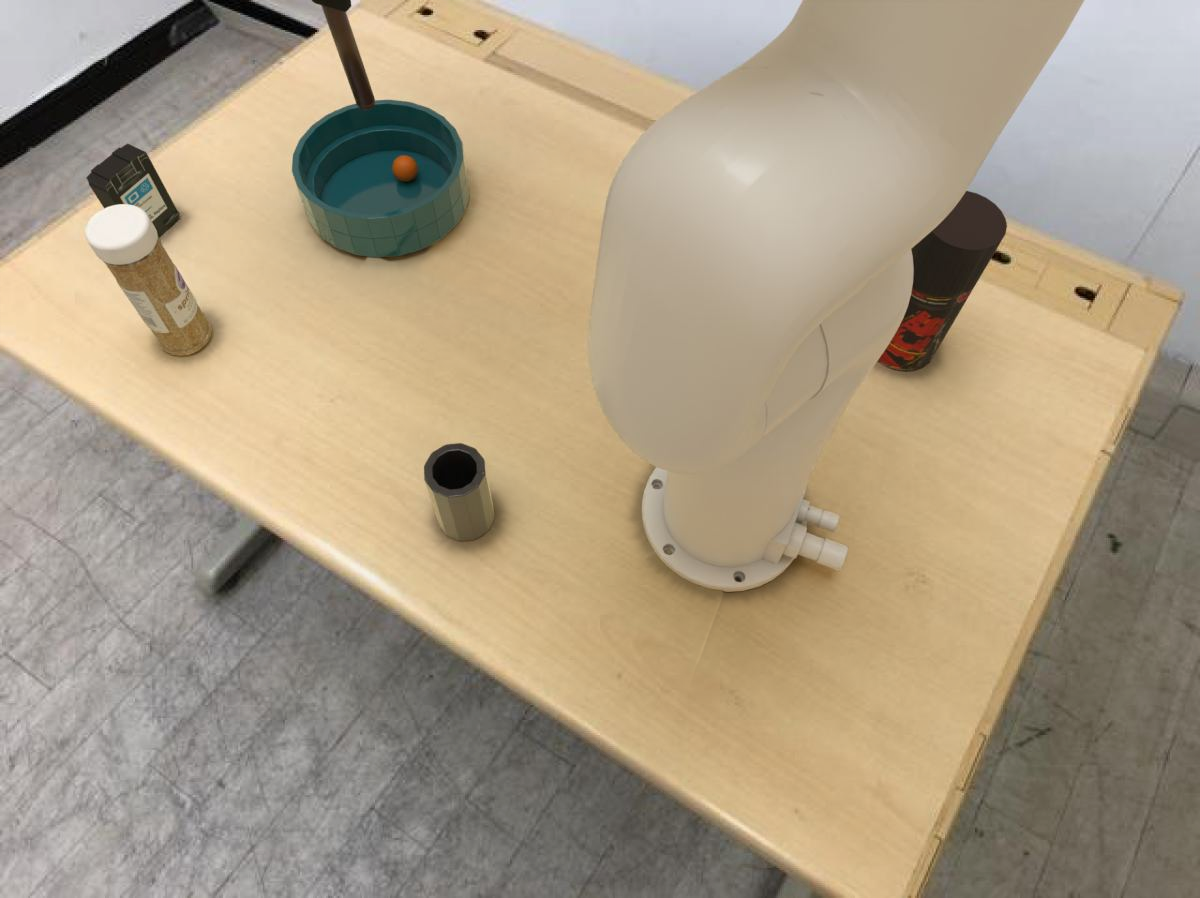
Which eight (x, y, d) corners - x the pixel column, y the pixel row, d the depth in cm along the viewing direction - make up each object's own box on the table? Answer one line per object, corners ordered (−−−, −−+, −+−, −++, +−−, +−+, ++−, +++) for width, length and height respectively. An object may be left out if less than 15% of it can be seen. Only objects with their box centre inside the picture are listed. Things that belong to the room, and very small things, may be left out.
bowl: (496, 172, 87) (491, 126, 82) (421, 282, 79) (411, 239, 75) (360, 129, 89) (348, 82, 84) (276, 231, 82) (258, 186, 77)
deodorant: (947, 342, 77) (1022, 218, 64) (910, 383, 75) (979, 263, 62) (891, 305, 79) (952, 178, 66) (852, 344, 77) (908, 219, 64)
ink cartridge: (144, 252, 81) (103, 185, 74) (125, 242, 81) (83, 175, 74) (182, 217, 83) (146, 150, 76) (163, 208, 83) (126, 140, 76)
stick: (380, 104, 75) (317, -89, 62) (371, 116, 74) (305, -77, 61) (364, 101, 75) (298, -91, 62) (355, 112, 75) (286, -80, 61)
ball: (420, 162, 85) (417, 152, 83) (418, 186, 85) (415, 177, 83) (394, 160, 85) (391, 150, 83) (393, 184, 85) (389, 175, 83)
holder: (503, 506, 68) (495, 455, 62) (479, 552, 67) (467, 505, 60) (455, 487, 69) (441, 435, 62) (430, 532, 67) (412, 483, 60)
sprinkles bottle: (221, 342, 76) (156, 231, 64) (169, 366, 74) (93, 256, 63) (201, 307, 78) (135, 192, 66) (150, 329, 76) (73, 216, 65)
